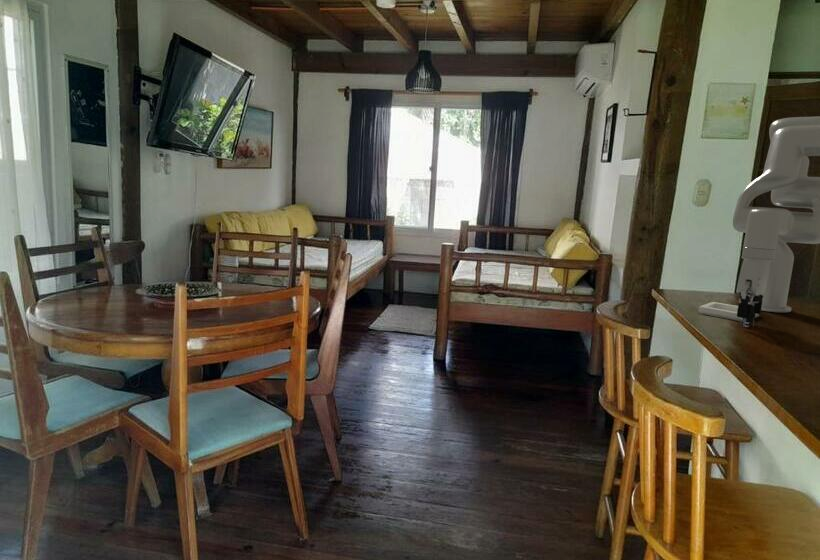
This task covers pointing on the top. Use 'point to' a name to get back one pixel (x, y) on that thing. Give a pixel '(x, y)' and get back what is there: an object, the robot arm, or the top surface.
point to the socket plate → (721, 311)
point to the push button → (750, 321)
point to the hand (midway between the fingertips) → (748, 315)
